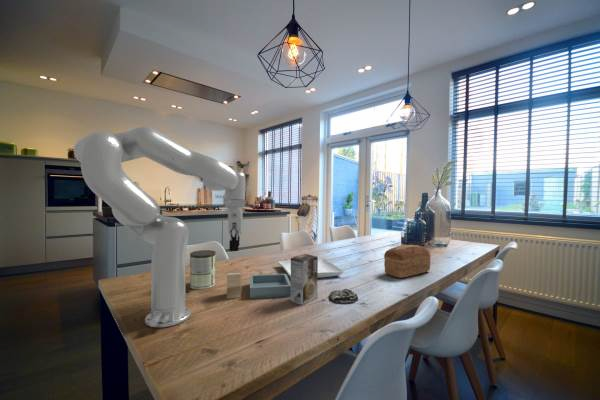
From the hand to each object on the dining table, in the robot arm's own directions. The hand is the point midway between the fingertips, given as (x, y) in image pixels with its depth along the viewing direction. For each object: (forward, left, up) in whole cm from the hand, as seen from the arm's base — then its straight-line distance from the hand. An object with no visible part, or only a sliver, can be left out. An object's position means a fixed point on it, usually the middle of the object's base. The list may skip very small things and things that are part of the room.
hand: (234, 248), depth 100 cm
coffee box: (-8, -26, -18) cm, 33 cm away
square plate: (+27, -36, -19) cm, 49 cm away
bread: (+17, -86, -19) cm, 90 cm away
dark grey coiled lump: (-9, -41, -19) cm, 46 cm away
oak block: (0, 0, -18) cm, 18 cm away
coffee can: (+14, +14, -18) cm, 27 cm away
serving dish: (+4, -14, -18) cm, 23 cm away
